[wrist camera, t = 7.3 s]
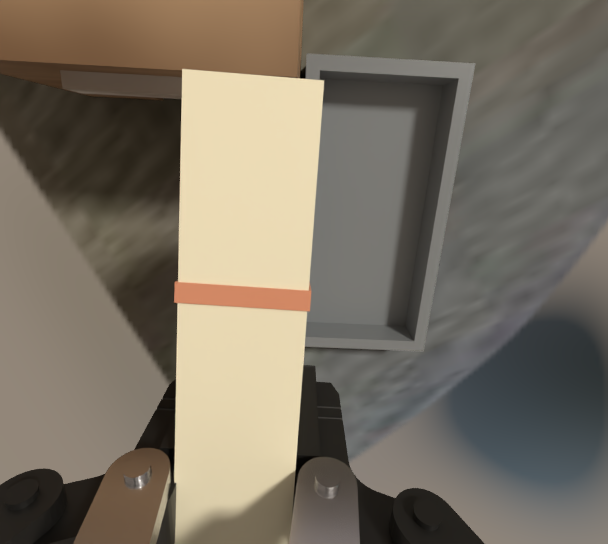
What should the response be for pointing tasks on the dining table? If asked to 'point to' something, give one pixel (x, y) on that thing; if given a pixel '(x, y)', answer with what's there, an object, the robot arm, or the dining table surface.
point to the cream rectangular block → (242, 301)
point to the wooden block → (146, 42)
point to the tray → (382, 196)
